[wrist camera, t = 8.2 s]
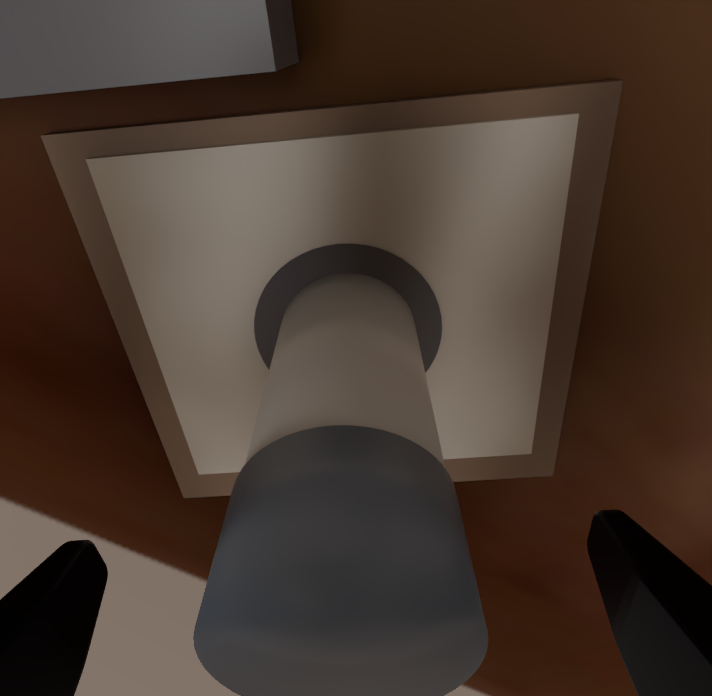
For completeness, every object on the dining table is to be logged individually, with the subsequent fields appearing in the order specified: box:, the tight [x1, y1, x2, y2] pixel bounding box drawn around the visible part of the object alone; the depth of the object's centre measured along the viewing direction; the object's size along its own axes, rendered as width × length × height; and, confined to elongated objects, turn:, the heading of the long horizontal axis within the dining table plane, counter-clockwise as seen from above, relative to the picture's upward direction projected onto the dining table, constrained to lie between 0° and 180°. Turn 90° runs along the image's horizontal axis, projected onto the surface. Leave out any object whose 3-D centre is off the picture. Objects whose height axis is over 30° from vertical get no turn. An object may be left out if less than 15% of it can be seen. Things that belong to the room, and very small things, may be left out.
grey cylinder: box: [194, 273, 488, 696], centre depth 11 cm, size 4×4×9 cm
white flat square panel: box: [41, 79, 624, 498], centre depth 15 cm, size 14×13×1 cm
